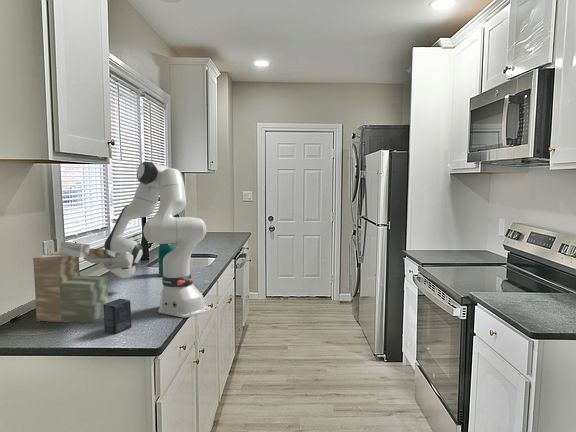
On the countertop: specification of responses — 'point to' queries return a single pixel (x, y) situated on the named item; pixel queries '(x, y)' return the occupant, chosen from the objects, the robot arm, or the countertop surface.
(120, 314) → the box
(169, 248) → the pitcher
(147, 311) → the countertop surface
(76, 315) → the riser
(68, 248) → the mallet
